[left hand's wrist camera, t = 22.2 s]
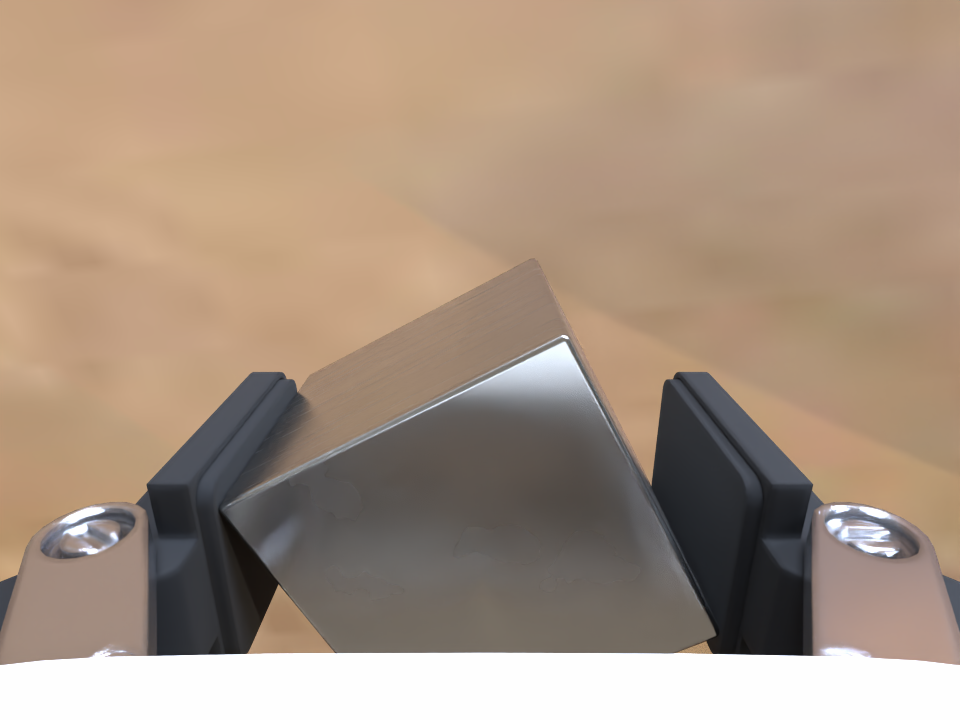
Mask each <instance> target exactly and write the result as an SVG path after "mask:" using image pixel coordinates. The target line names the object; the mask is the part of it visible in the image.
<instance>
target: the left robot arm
mask: <svg viewBox="0 0 960 720" xmlns="http://www.w3.org/2000/svg"><path fill="white" fill-rule="evenodd" d="M296 394H297V388H296V384H295V381H294V380H292V379H286V377H285V375H284V373H282V372H252V373H251V374H250V375H249V376H248V377H247V378H246V379H245V380H244V381H243V382H242V383H241V384H240V385H239V387H238V388H237V389H236V390H235V391H234V392H233V393H232V394H231V395H230V396H229V397H228V398H227V399H226V400H225V401H224V402H223V404H222V405H221V406H220V407H219V408H218V409H217V410H216V411H215V412H214V413H213V414H212V415H211V416H210V417H209V418H208V420H207V421H206V422H205V423H204V424H203V425H202V426H201V427H200V428H199V429H198V430H197V431H196V432H195V433H194V434H193V436H192V437H191V438H190V439H189V440H188V441H187V442H186V443H185V444H184V445H183V446H182V447H181V448H180V449H179V450H178V451H177V453H176V454H175V455H174V456H173V457H172V458H171V459H170V460H169V461H168V462H167V463H166V464H165V465H164V466H163V467H162V469H161V470H160V471H159V472H158V473H157V474H156V475H155V476H154V477H153V478H152V479H151V480H150V481H149V482H148V483H147V489H148V491H147V492H146V493H145V494H144V495H143V497H142V498H141V499H140V500H139V501H138V502H137V503H136V504H132V503H127V502H109V503H103V504H96V505H92V506H88V507H85V508H81V509H78V510H75V511H73V512H70V513H68V514H66V515H63V516H61V517H59V518H57V519H55V520H54V521H52V522H50V523H49V524H47V525H46V526H44V527H43V528H42V529H40V530H39V531H38V532H37V533H36V534H35V535H34V536H33V537H32V538H31V540H30V542H29V543H28V545H27V547H26V549H25V553H24V556H23V559H22V563H21V566H20V569H19V572H18V575H16V576H14V577H11V578H9V579H6V580H4V581H1V582H0V720H960V582H959V581H956V580H954V579H951V578H949V577H946V576H944V575H942V572H941V569H940V566H939V563H938V559H937V556H936V553H935V549H934V547H933V545H932V543H931V542H930V540H929V538H928V537H927V536H926V535H925V534H924V533H923V532H922V531H921V530H920V529H918V528H917V527H916V526H914V525H913V524H911V523H910V522H908V521H906V520H905V519H903V518H901V517H899V516H897V515H894V514H892V513H890V512H887V511H885V510H882V509H879V508H875V507H872V506H868V505H864V504H857V503H851V502H833V503H828V504H823V502H822V501H821V500H820V499H819V498H818V497H817V496H816V495H815V494H814V493H813V492H812V487H813V484H812V483H811V482H810V481H809V480H808V479H807V477H806V476H805V475H804V474H803V473H802V472H801V471H800V470H799V469H798V468H797V467H796V466H795V465H794V464H793V463H792V461H791V460H790V459H789V458H788V457H787V456H786V455H785V454H784V453H783V452H782V451H781V450H780V449H779V448H778V447H777V446H776V444H775V443H774V442H773V441H772V440H771V439H770V438H769V437H768V436H767V435H766V434H765V433H764V432H763V431H762V430H761V428H760V427H759V426H758V425H757V424H756V423H755V422H754V421H753V420H752V419H751V418H750V417H749V416H748V415H747V414H746V412H745V411H744V410H743V409H742V408H741V407H740V406H739V405H738V404H737V403H736V402H735V401H734V400H733V399H732V398H731V397H730V395H729V394H728V393H727V392H726V391H725V390H724V389H723V388H722V387H721V386H720V385H719V384H718V383H717V382H716V381H715V379H714V378H713V377H712V376H711V375H710V374H709V373H707V372H677V373H676V374H675V375H674V378H673V379H668V380H666V381H665V383H664V386H663V393H662V401H661V410H660V418H659V427H658V435H657V444H656V452H655V461H654V469H653V478H652V486H651V487H652V489H653V491H654V493H655V495H656V497H657V499H658V501H659V504H660V506H661V508H662V510H663V512H664V514H665V516H666V518H667V520H668V522H669V524H670V526H671V529H672V531H673V533H674V535H675V537H676V539H677V541H678V543H679V545H680V547H681V549H682V551H683V554H684V556H685V558H686V560H687V562H688V564H689V566H690V568H691V570H692V572H693V574H694V577H695V579H696V581H697V583H698V585H699V587H700V589H701V591H702V593H703V595H704V597H705V599H706V602H707V604H708V606H709V608H710V610H711V612H712V614H713V616H714V618H715V620H716V622H717V624H718V627H719V635H718V636H717V637H716V638H713V639H710V640H708V641H707V644H708V646H709V648H710V650H711V652H712V653H713V654H589V653H371V654H247V653H248V651H249V649H250V647H251V645H252V643H253V641H254V638H255V636H256V634H257V632H258V629H259V627H260V625H261V622H262V620H263V618H264V616H265V613H266V611H267V609H268V607H269V604H270V602H271V600H272V598H273V595H274V593H275V591H276V589H277V586H278V583H277V581H276V580H275V579H274V578H273V576H272V575H271V574H270V573H269V572H268V570H267V569H266V568H265V567H264V565H263V564H262V563H261V562H260V561H259V559H258V558H257V557H256V556H255V554H254V553H253V552H252V551H251V550H250V548H249V547H248V546H247V545H246V543H245V542H244V541H243V540H242V539H241V537H240V536H239V535H238V534H237V532H236V531H235V530H234V529H233V528H232V526H231V525H230V524H229V523H228V521H227V520H226V519H225V518H224V517H223V515H222V514H221V513H220V511H219V505H220V504H221V502H222V501H223V500H224V498H225V497H226V495H227V494H228V492H229V491H230V489H231V488H232V487H233V485H234V484H235V482H236V481H237V479H238V478H239V476H240V475H241V474H242V472H243V471H244V469H245V468H246V466H247V465H248V463H249V462H250V461H251V459H252V458H253V456H254V455H255V453H256V452H257V450H258V449H259V448H260V446H261V445H262V443H263V442H264V440H265V439H266V438H267V436H268V435H269V433H270V432H271V430H272V429H273V427H274V426H275V425H276V423H277V422H278V420H279V419H280V417H281V416H282V414H283V413H284V412H285V410H286V409H287V407H288V406H289V404H290V403H291V401H292V400H293V399H294V397H295V396H296Z"/></svg>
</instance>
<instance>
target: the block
mask: <svg viewBox="0 0 960 720" xmlns="http://www.w3.org/2000/svg"><path fill="white" fill-rule="evenodd" d="M219 511H220V513H221V514H222V515H223V517H224V518H225V519H226V520H227V521H228V523H229V524H230V525H231V526H232V528H233V529H234V530H235V531H236V532H237V534H238V535H239V536H240V537H241V539H242V540H243V541H244V542H245V543H246V545H247V546H248V547H249V548H250V550H251V551H252V552H253V553H254V554H255V556H256V557H257V558H258V559H259V561H260V562H261V563H262V564H263V565H264V567H265V568H266V569H267V570H268V572H269V573H270V574H271V575H272V576H273V578H274V579H275V580H276V581H277V583H278V584H279V585H280V586H281V587H282V589H283V590H284V591H285V592H286V594H287V595H288V596H289V597H290V598H291V600H292V601H293V602H294V603H295V605H296V606H297V607H298V608H299V609H300V611H301V612H302V613H303V614H304V616H305V617H306V618H307V619H308V620H309V622H310V623H311V624H312V625H313V627H314V628H315V629H316V630H317V631H318V633H319V634H320V635H321V636H322V638H323V639H324V640H325V641H326V642H327V644H328V645H329V646H330V647H331V649H332V650H333V651H334V652H335V653H336V654H371V653H589V654H674V653H677V652H679V651H682V650H685V649H687V648H690V647H692V646H695V645H697V644H700V643H703V642H705V641H708V640H710V639H713V638H716V637H717V636H718V635H719V627H718V624H717V622H716V620H715V618H714V616H713V614H712V612H711V610H710V608H709V606H708V604H707V602H706V599H705V597H704V595H703V593H702V591H701V589H700V587H699V585H698V583H697V581H696V579H695V577H694V574H693V572H692V570H691V568H690V566H689V564H688V562H687V560H686V558H685V556H684V554H683V551H682V549H681V547H680V545H679V543H678V541H677V539H676V537H675V535H674V533H673V531H672V529H671V526H670V524H669V522H668V520H667V518H666V516H665V514H664V512H663V510H662V508H661V506H660V504H659V501H658V499H657V497H656V495H655V493H654V491H653V489H652V487H651V485H650V483H649V480H648V478H647V476H646V474H645V472H644V470H643V468H642V466H641V464H640V462H639V460H638V458H637V456H636V454H635V452H634V450H633V448H632V446H631V444H630V442H629V440H628V438H627V436H626V434H625V433H624V431H623V429H622V427H621V425H620V423H619V421H618V419H617V417H616V415H615V413H614V411H613V409H612V407H611V405H610V403H609V401H608V399H607V397H606V395H605V393H604V391H603V389H602V387H601V385H600V383H599V381H598V379H597V377H596V375H595V373H594V371H593V369H592V367H591V366H590V364H589V362H588V360H587V358H586V356H585V354H584V352H583V350H582V348H581V346H580V344H579V342H578V340H577V338H576V336H575V334H574V332H573V330H572V328H571V326H570V324H569V322H568V320H567V318H566V316H565V314H564V312H563V310H562V308H561V306H560V304H559V302H558V301H557V299H556V297H555V295H554V293H553V291H552V289H551V287H550V285H549V283H548V281H547V279H546V277H545V275H544V273H543V271H542V269H541V267H540V265H539V263H538V261H537V260H536V259H535V258H534V259H529V260H528V261H526V262H524V263H522V264H520V265H518V266H516V267H514V268H512V269H510V270H509V271H507V272H505V273H503V274H501V275H499V276H497V277H495V278H493V279H491V280H490V281H488V282H486V283H484V284H482V285H480V286H478V287H476V288H474V289H472V290H471V291H469V292H467V293H465V294H463V295H461V296H459V297H457V298H455V299H453V300H451V301H450V302H448V303H446V304H444V305H442V306H440V307H438V308H436V309H434V310H432V311H431V312H429V313H427V314H425V315H423V316H421V317H419V318H417V319H415V320H413V321H412V322H410V323H408V324H406V325H404V326H402V327H400V328H398V329H396V330H394V331H393V332H391V333H389V334H387V335H385V336H383V337H381V338H379V339H377V340H375V341H374V342H372V343H370V344H368V345H366V346H364V347H362V348H360V349H358V350H356V351H355V352H353V353H351V354H349V355H347V356H345V357H343V358H341V359H339V360H337V361H336V362H334V363H332V364H330V365H328V366H326V367H324V368H322V369H320V370H318V371H317V372H315V373H313V374H311V375H310V376H309V377H308V378H307V380H306V381H305V383H304V384H303V386H302V387H301V388H300V390H299V391H298V393H297V394H296V396H295V397H294V399H293V400H292V401H291V403H290V404H289V406H288V407H287V409H286V410H285V412H284V413H283V414H282V416H281V417H280V419H279V420H278V422H277V423H276V425H275V426H274V427H273V429H272V430H271V432H270V433H269V435H268V436H267V438H266V439H265V440H264V442H263V443H262V445H261V446H260V448H259V449H258V450H257V452H256V453H255V455H254V456H253V458H252V459H251V461H250V462H249V463H248V465H247V466H246V468H245V469H244V471H243V472H242V474H241V475H240V476H239V478H238V479H237V481H236V482H235V484H234V485H233V487H232V488H231V489H230V491H229V492H228V494H227V495H226V497H225V498H224V500H223V501H222V502H221V504H220V505H219Z"/></svg>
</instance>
